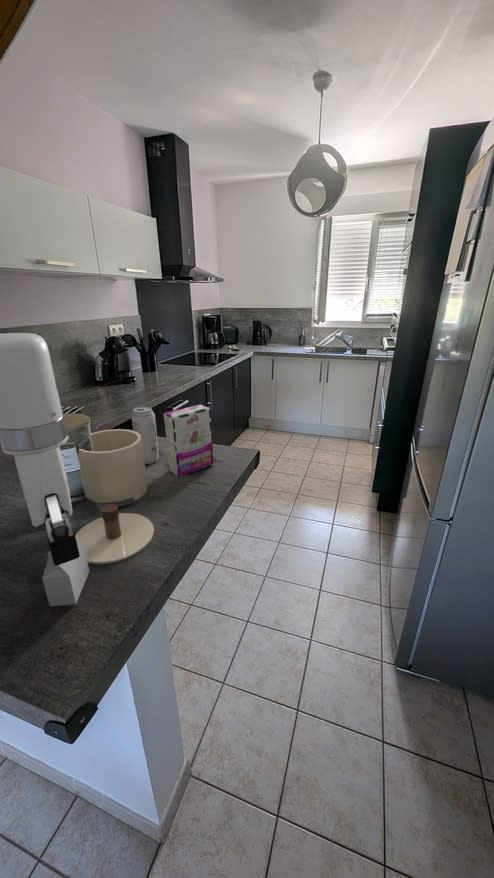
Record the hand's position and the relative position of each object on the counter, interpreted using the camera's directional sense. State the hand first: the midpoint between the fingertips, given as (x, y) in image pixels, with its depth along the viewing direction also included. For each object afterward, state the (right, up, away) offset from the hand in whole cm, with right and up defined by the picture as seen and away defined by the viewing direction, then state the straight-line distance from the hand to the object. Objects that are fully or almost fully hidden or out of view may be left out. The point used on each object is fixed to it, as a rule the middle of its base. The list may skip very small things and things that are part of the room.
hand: (62, 541), depth 52 cm
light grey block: (0, -9, +4) cm, 10 cm away
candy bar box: (+12, +7, +43) cm, 45 cm away
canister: (-3, +2, +31) cm, 31 cm away
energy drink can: (0, +9, +47) cm, 48 cm away
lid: (+2, -4, +15) cm, 16 cm away
